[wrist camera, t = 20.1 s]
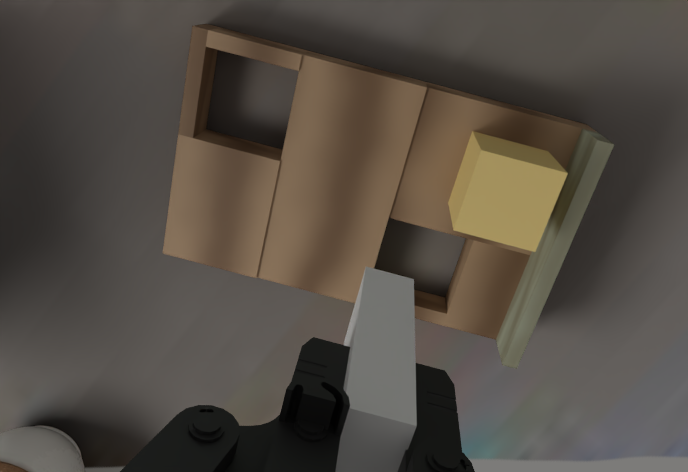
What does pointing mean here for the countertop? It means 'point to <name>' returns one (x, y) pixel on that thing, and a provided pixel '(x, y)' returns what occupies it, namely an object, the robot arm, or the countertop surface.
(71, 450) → the lidded jar
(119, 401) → the countertop surface
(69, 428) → the countertop surface
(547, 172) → the cube
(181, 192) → the trap deck
